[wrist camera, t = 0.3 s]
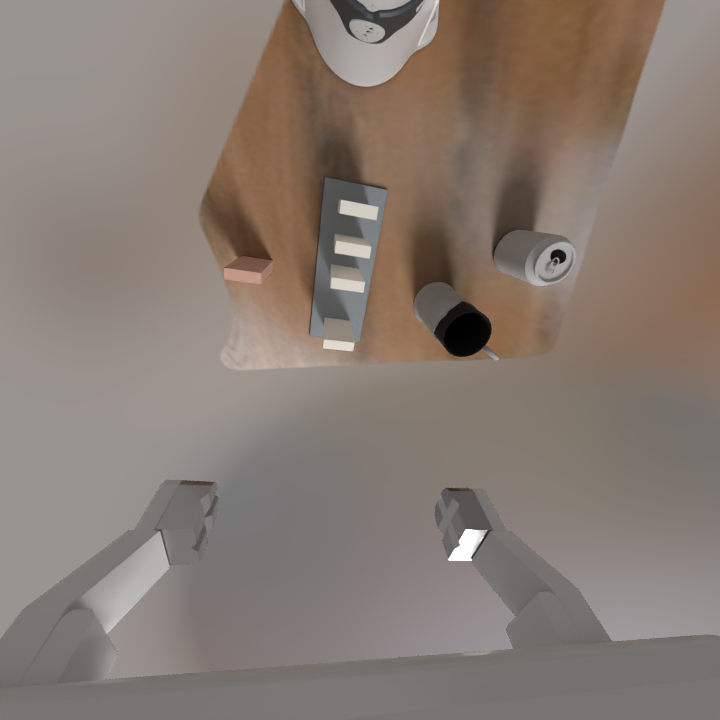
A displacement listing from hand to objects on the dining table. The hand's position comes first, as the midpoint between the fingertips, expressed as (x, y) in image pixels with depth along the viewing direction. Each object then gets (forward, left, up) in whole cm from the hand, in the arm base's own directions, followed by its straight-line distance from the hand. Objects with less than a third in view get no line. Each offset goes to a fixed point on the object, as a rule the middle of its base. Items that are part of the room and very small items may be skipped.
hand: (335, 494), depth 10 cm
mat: (+1, +3, -46) cm, 46 cm away
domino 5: (+11, +3, -46) cm, 47 cm away
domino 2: (-9, +3, -46) cm, 47 cm away
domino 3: (-4, +3, -46) cm, 46 cm away
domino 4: (+1, +3, -46) cm, 46 cm away
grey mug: (+6, +24, -46) cm, 52 cm away
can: (-7, +33, -46) cm, 57 cm away
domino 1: (+2, -12, -46) cm, 48 cm away
